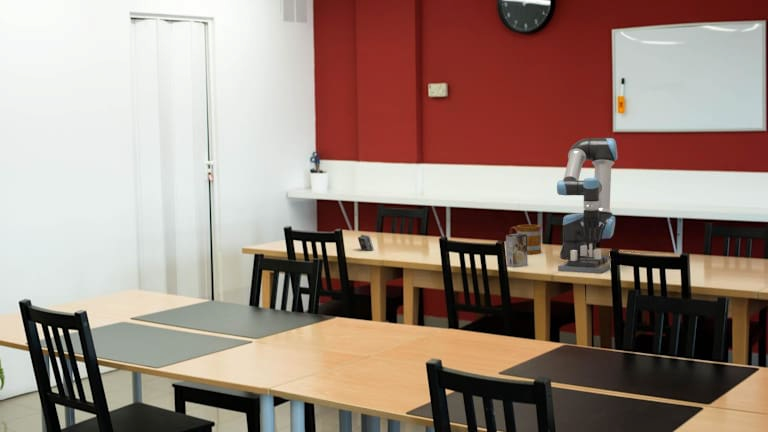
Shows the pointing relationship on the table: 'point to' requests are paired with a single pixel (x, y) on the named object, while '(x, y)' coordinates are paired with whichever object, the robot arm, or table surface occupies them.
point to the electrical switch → (365, 242)
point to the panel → (584, 269)
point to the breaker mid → (597, 254)
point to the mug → (530, 237)
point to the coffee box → (516, 250)
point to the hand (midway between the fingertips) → (591, 256)
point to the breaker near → (573, 255)
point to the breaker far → (583, 250)
